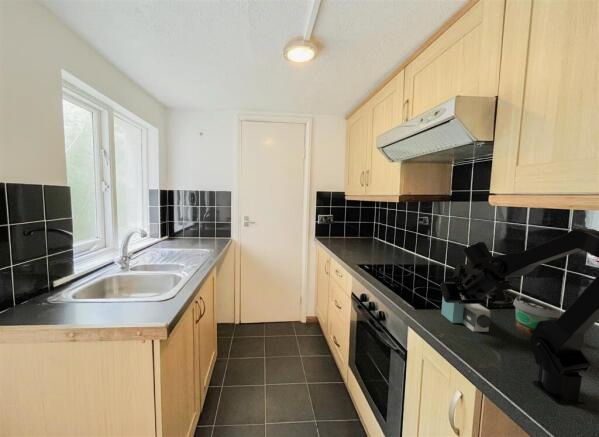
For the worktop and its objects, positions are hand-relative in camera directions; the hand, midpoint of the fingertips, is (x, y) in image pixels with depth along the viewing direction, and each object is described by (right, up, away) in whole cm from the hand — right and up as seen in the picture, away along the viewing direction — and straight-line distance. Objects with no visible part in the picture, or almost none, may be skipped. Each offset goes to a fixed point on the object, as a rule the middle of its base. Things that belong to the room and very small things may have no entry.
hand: (459, 302), depth 93 cm
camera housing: (+5, -8, +2) cm, 9 cm away
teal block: (0, -7, +5) cm, 9 cm away
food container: (+20, -9, -4) cm, 22 cm away
